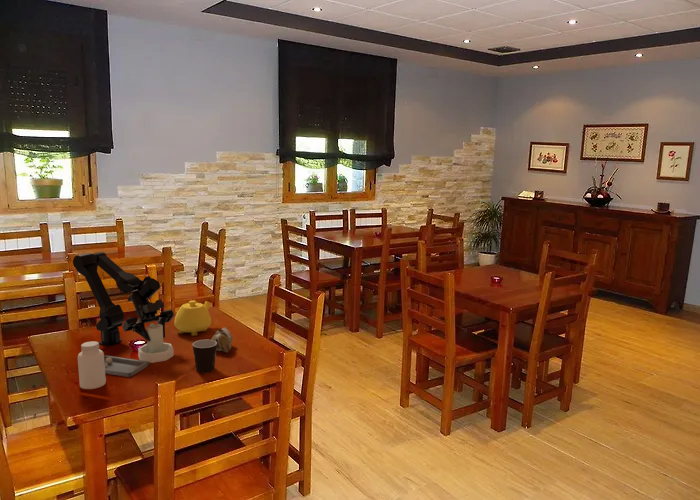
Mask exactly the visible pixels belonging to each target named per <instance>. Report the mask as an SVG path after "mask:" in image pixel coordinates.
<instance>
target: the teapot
mask: <svg viewBox="0 0 700 500" xmlns="http://www.w3.org/2000/svg"><path fill="white" fill-rule="evenodd" d="M179 307H180V308H179V309H178V311H177V312H176V314H175V317H174V324H173V325H174V327H175V328H176V329H178V333H179V334H184V333H190V336H192V337H193V336H198V332H206V331H208V328H209V327H210V325H212V317H211V314H210V312H209V309H210V307H211V302H210V301H207V300H205V301H204V304H203V303H201V302H197V300H195V299H193V300H189V301H188V302H186V303H184V304H182V305H181V306H179Z"/></svg>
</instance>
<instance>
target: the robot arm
mask: <svg viewBox="0 0 700 500" xmlns="http://www.w3.org/2000/svg"><path fill="white" fill-rule="evenodd" d="M72 266H73V267H74V268H75V270H76V271H77V272H78V273H79V274H80V275H82V276H83V277H84V278H85V280H86V282H87V284H88V285H89V286H88V287H89V289H90V290H91V293H92V294H93V297H94V298H95V300H96V303H97V305H98V306H99V314H98V316H99V318H100V319H99V321H98V322H97V323H96V324H95V327H96V330H97V331H99V332H100V341H99V342H98V343H99V345H105V346H114V345H116V344H118V343H120V342H122V341H123V339H122V338H121V332H120V328H119V327H122V329H123V332H124V333H126V332H130V331H132V332H133V333H136V334H138V335H139V336H141V337H142V338H143V339H145V341H146V342H147V341H148V342H149V341H150V337H149V335H148V333H147V328H146V326H145V324H148V323H149V324H150V323H154V322H156V324H161V325H162V326H163V339H165V338H166V323H169V322H170V321H171V320H172V319H173V318H174V316H175V313H174V311H173V310H172V309H166V310H162V311H161V309H162V308H164V302H163V299H157V300H155V301H154V302H152V301H150V300H149V299H150V298H152V297H153V296H154V295H155V294H156V293H157V292H158V291H159V290H160V288H161V284H160V282H159V280H157V279H156V278H153V277H151V276H150V275H148V276H145V277H143V279H140V278H139V277H138V276H136V275H135V274H133V273H130V272H127V271H125V270H124V269H122V268H121V267H120V266H119V265H118V264H117V263H115V262H114V261H113V260H112V259H111V258H110V257H109V256H107V253H105V252H104V251H100V252H95V253H92V252H88V253H83V254H77V255H75V256H73V259H72ZM98 267H99V268H100V269H101V270H102V271H103V272H105V273H106V274H107V275H108V276H109V277H111V278H112V279H113V280H114V282H115V285H116V287H117V289H118V290H120V292H121V293H123V294H129V293H130V294H129V297H128V298H127V302H132V304H133V306H134V309H135V311H134V313H135V315H137V316H133V317H127V318H125V314H124V313H125V312H124V311H123V309H122V307H121V305H120V304H115V303H114V302H113V301H112V299H111V297H110V295H109V293H108V291H107V288H106V287H105V285H104V283H103V280H102V279H101V277H100V275H99V273H98ZM158 311H161V313H160V314H159V315H158ZM124 320H125V321H124ZM148 342H147V343H148Z"/></svg>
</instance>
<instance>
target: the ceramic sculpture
mask: <svg viewBox="0 0 700 500" xmlns="http://www.w3.org/2000/svg"><path fill="white" fill-rule="evenodd" d="M233 339H234V337H233V335H232V333H231V332H230V330H229V329H227V327H226V326H224V327H222V328H221V329H218V330H217V331H216V332H215V333H214V335H213V336H212V337H211V339H210V340H214V341H216V342H217V348H216V352H224V353H229V352H230V351H231V350H232V342H233Z"/></svg>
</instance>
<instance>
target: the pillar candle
mask: <svg viewBox="0 0 700 500" xmlns="http://www.w3.org/2000/svg"><path fill="white" fill-rule="evenodd" d="M146 331H147V333H148V335H149V337H150V341H149V342H148V341H147V340H146V342H147V344H148V353H152V354H153V353H160V352H163V343H164V338H163V326H162V325H161V324H158V323H154V322H150V323H149V324H148V325H147V326H146Z"/></svg>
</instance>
